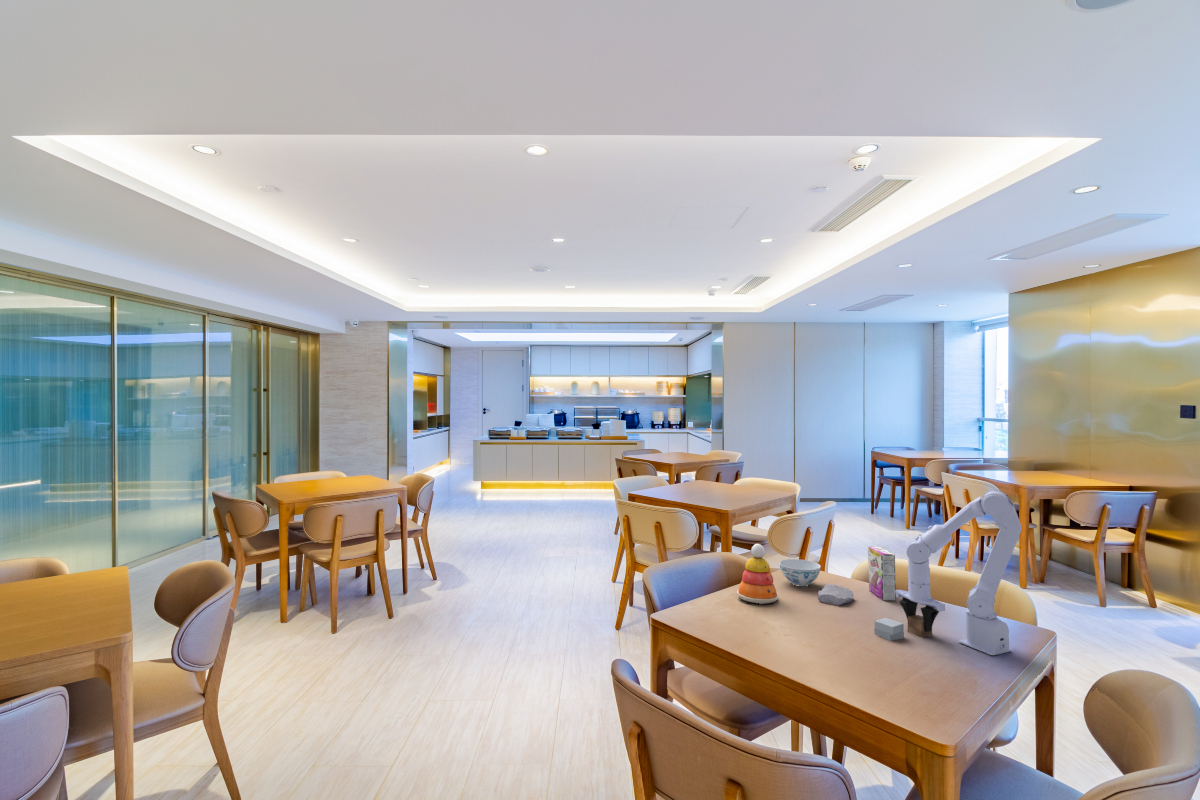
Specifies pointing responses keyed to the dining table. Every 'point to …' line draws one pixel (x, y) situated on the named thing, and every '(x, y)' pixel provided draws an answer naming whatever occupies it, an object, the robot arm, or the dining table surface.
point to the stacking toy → (757, 579)
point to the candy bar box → (882, 573)
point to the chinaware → (800, 571)
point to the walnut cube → (917, 626)
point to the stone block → (835, 595)
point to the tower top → (889, 626)
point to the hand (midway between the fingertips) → (919, 627)
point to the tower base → (889, 635)
